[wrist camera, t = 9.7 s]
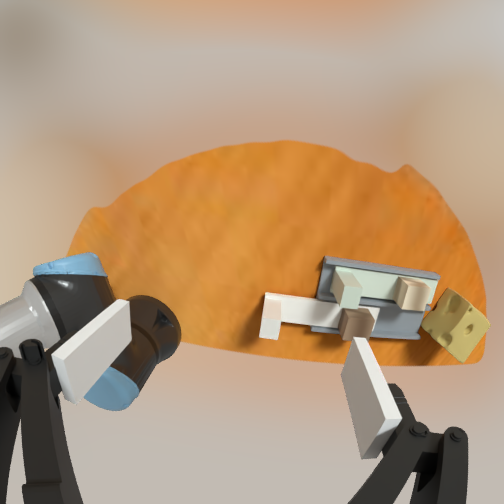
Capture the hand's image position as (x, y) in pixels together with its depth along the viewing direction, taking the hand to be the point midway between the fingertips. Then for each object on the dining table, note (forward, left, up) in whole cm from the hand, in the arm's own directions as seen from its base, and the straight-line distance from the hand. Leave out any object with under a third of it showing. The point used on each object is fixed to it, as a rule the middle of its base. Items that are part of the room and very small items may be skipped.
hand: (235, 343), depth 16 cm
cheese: (+42, -12, -37) cm, 57 cm away
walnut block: (+18, -14, -35) cm, 41 cm away
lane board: (+23, -10, -37) cm, 44 cm away
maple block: (+28, -7, -35) cm, 45 cm away
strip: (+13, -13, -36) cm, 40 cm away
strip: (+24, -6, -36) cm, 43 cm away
